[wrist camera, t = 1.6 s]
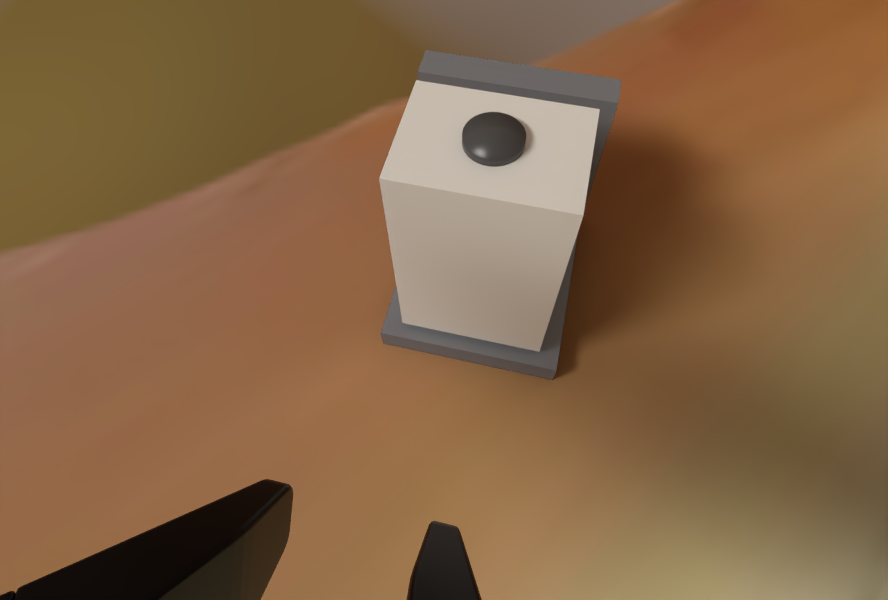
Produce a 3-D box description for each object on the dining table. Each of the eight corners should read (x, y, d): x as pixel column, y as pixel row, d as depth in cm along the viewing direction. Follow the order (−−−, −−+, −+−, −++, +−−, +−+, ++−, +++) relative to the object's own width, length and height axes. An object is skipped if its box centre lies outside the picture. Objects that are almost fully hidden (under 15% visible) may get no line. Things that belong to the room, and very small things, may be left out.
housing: (552, 379, 24) (594, 278, 17) (383, 343, 25) (356, 232, 18) (578, 216, 28) (621, 79, 21) (431, 189, 29) (425, 50, 22)
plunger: (539, 351, 23) (586, 208, 15) (402, 322, 24) (377, 170, 16) (553, 268, 25) (602, 101, 17) (426, 243, 26) (415, 72, 18)
